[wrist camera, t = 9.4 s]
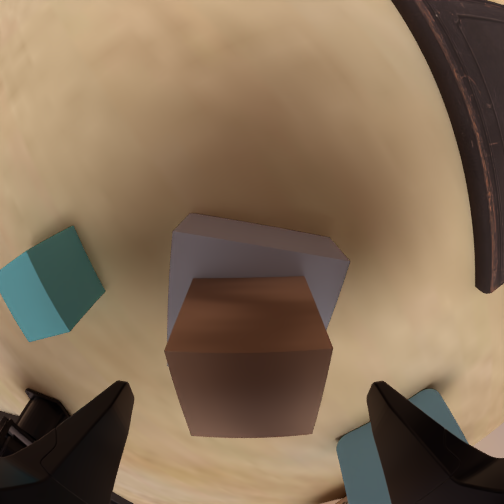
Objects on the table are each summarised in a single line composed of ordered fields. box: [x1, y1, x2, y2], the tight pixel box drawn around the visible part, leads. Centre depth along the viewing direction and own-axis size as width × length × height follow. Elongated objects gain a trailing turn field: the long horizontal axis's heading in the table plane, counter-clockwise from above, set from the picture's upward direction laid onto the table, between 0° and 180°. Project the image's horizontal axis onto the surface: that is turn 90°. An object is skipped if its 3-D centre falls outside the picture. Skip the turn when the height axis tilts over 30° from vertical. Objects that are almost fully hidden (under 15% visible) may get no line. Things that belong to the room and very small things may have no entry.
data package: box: [337, 389, 468, 504], centre depth 17 cm, size 12×4×12 cm, turn 127°
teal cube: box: [0, 226, 105, 342], centre depth 14 cm, size 5×5×5 cm
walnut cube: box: [164, 276, 333, 438], centre depth 11 cm, size 5×5×5 cm
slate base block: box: [167, 213, 350, 366], centre depth 15 cm, size 8×8×4 cm
